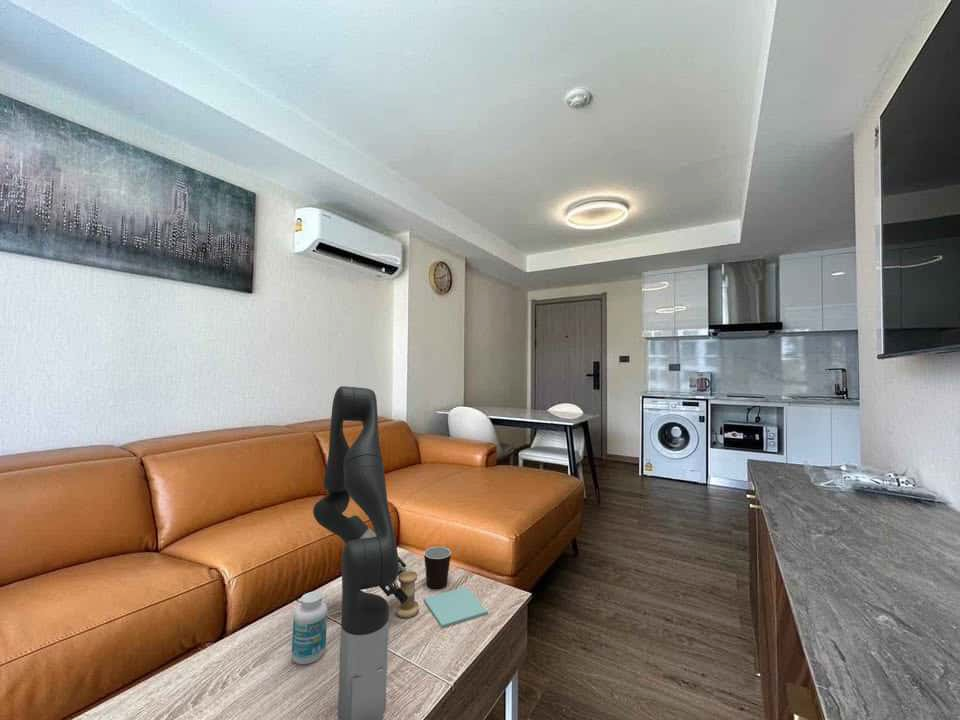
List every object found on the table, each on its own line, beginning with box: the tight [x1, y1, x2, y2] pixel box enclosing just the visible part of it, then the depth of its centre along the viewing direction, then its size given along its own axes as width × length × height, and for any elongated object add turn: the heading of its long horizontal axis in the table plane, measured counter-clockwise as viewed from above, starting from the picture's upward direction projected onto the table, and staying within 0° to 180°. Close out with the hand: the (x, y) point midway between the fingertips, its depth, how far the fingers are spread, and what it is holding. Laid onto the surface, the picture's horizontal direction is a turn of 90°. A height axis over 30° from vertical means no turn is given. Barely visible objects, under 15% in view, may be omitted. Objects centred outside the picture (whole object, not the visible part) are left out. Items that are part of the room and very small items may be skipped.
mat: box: [422, 586, 489, 629], centre depth 113 cm, size 14×14×1 cm
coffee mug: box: [423, 546, 452, 591], centre depth 127 cm, size 12×9×10 cm
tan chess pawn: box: [394, 570, 420, 620], centre depth 111 cm, size 6×6×10 cm
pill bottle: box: [291, 591, 328, 665], centre depth 93 cm, size 8×7×14 cm
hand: (408, 592), depth 110 cm, fingers open, 8 cm apart
